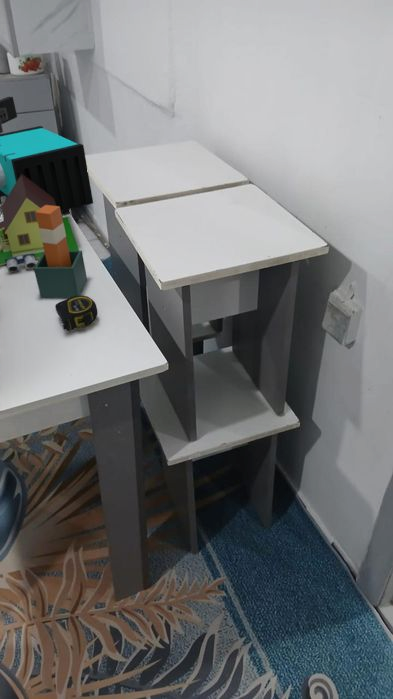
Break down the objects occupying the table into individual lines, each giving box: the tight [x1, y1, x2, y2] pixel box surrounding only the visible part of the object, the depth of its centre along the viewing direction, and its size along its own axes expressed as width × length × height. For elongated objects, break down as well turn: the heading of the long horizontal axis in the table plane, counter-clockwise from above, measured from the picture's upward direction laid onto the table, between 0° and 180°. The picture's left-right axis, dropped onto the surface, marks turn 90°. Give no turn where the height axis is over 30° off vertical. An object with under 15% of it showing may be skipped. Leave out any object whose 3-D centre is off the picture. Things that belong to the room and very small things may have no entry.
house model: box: [0, 173, 80, 266], centre depth 120 cm, size 18×20×13 cm
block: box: [35, 205, 72, 267], centre depth 102 cm, size 3×4×16 cm
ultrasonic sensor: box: [5, 253, 37, 273], centre depth 113 cm, size 6×2×3 cm, turn 108°
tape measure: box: [54, 295, 99, 332], centre depth 96 cm, size 7×7×4 cm
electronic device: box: [0, 125, 94, 212], centre depth 137 cm, size 25×25×15 cm
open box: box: [33, 250, 88, 299], centre depth 105 cm, size 8×7×6 cm
